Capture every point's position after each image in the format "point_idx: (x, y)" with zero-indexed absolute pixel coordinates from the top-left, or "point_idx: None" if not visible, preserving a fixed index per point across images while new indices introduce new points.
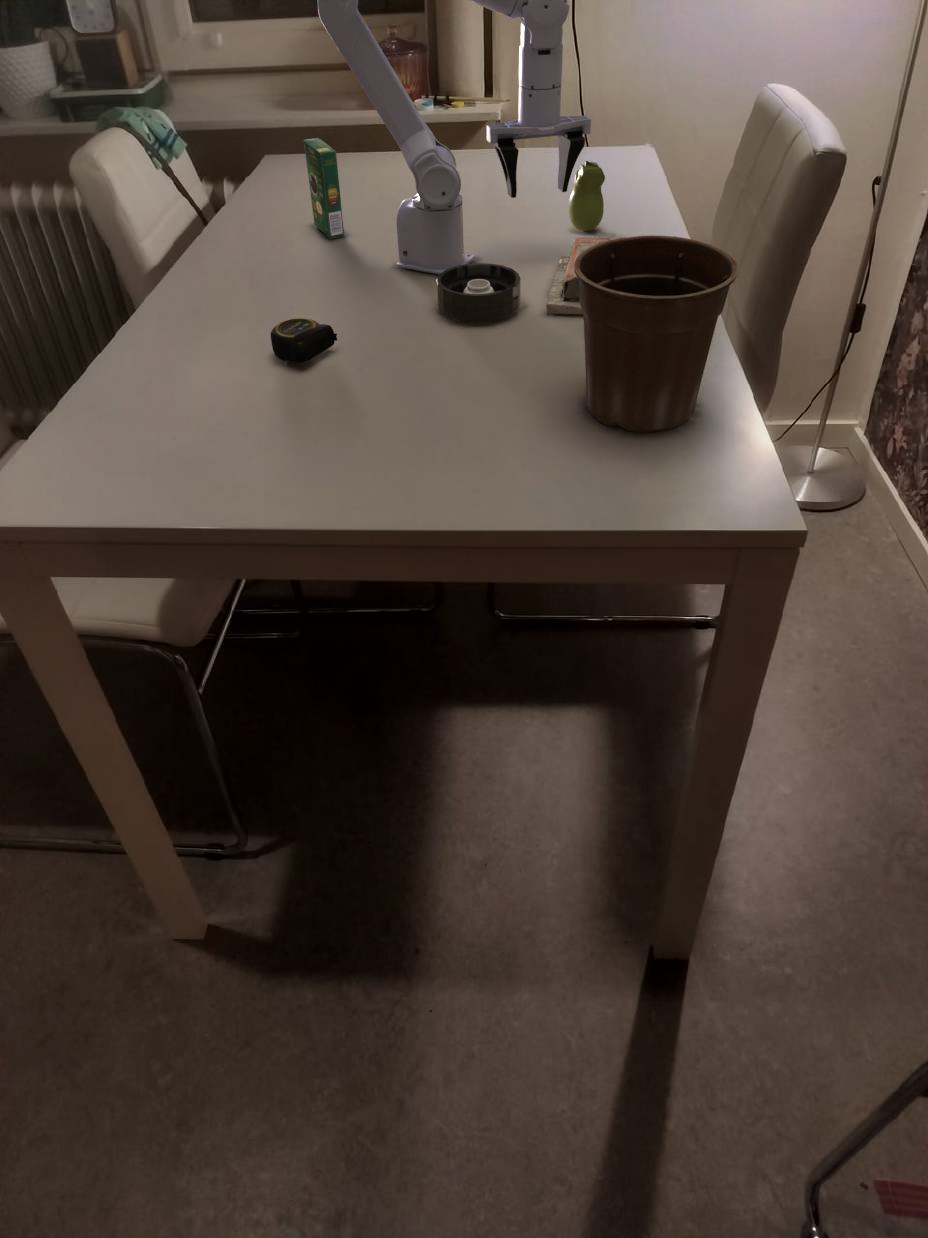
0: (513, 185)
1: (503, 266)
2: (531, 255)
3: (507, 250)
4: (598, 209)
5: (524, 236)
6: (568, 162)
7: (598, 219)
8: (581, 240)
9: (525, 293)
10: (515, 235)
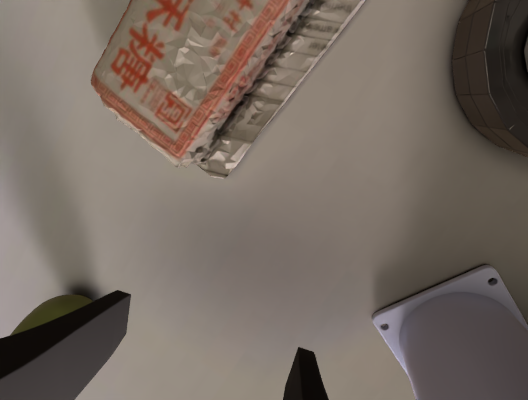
0: (314, 378)
1: (494, 83)
2: (250, 264)
3: (280, 314)
4: (39, 312)
5: (210, 351)
6: (41, 346)
7: (55, 297)
8: (177, 129)
9: (393, 76)
10: (223, 365)
